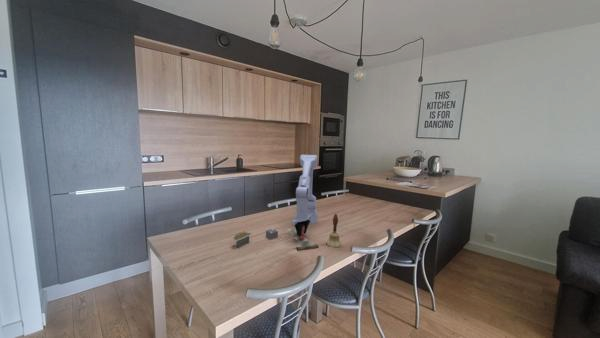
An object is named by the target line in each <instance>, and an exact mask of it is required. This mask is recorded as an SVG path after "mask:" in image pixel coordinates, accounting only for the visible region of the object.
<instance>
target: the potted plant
mask: <svg viewBox="0 0 600 338" xmlns="http://www.w3.org/2000/svg"><path fill="white" fill-rule="evenodd" d="M252 234H253V233H252V232H247V231H245V230H243V231H240V232H238V233H235V236H233V238H232V239H233V240H234V242H235V243H236V245H235V246H236V248H240V247H242V246H243V245H246V244H248V243H250V236H252Z"/></svg>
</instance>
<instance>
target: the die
mask: <svg viewBox="0 0 600 338" xmlns="http://www.w3.org/2000/svg"><path fill="white" fill-rule="evenodd" d="M278 234H279V231H278V230H277V229H274V228H272V229H267V230H266V231H265V237H266V238H267V239H269V240H270V241H271V240H275V239H277V238H278V236H279V235H278Z"/></svg>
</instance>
